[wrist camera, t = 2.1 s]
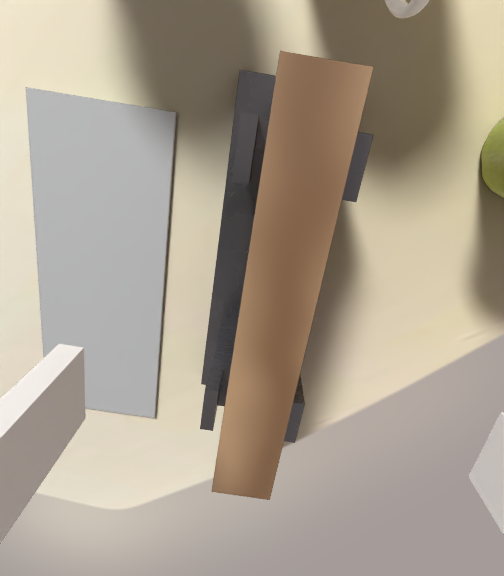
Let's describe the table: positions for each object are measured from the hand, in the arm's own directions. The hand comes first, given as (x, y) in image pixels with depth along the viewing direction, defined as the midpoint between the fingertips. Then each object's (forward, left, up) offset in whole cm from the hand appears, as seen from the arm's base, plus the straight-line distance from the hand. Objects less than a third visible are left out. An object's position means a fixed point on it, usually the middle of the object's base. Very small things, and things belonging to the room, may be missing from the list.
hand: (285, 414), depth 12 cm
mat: (-13, -4, -18) cm, 23 cm away
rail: (0, 0, -11) cm, 11 cm away
